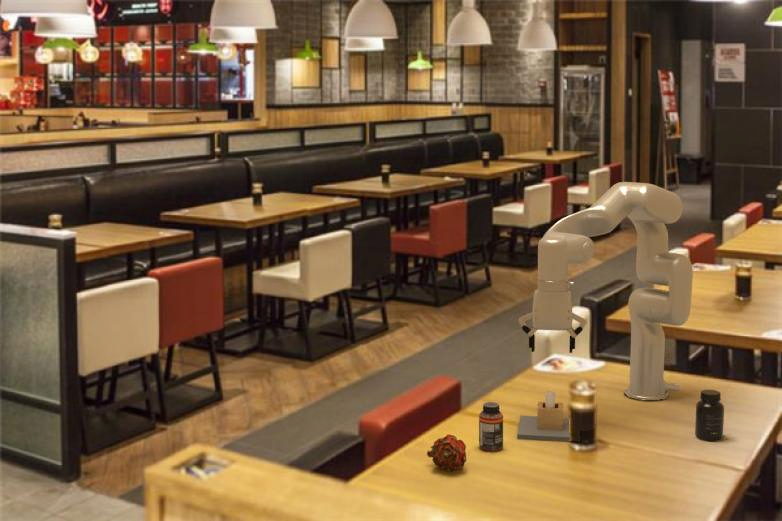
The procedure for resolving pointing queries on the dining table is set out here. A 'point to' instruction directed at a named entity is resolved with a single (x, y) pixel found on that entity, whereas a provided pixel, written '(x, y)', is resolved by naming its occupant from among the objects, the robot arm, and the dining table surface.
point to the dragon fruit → (448, 453)
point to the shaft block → (530, 432)
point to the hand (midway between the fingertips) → (551, 351)
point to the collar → (550, 417)
